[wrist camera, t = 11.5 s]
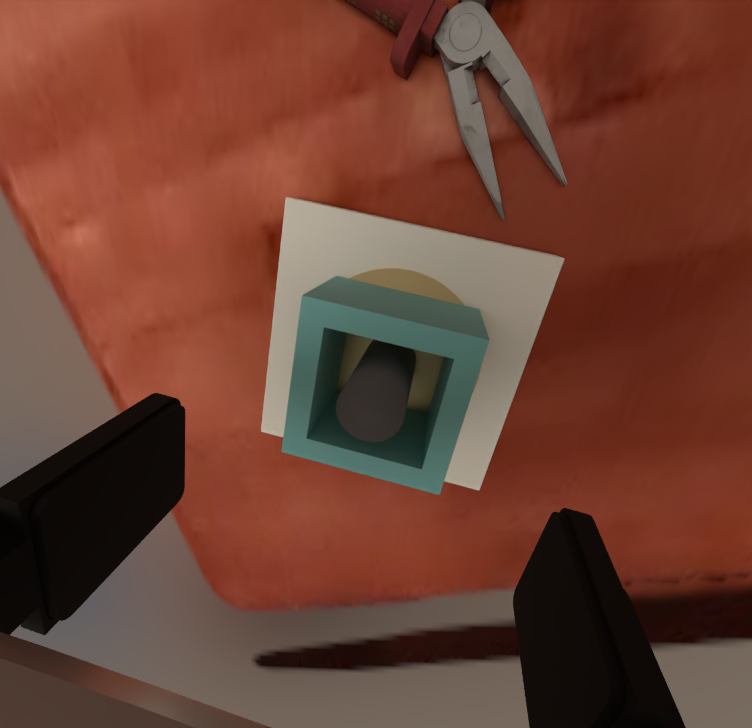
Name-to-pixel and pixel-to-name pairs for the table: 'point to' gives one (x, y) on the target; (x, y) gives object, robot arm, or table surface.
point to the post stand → (397, 363)
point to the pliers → (467, 72)
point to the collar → (396, 326)
